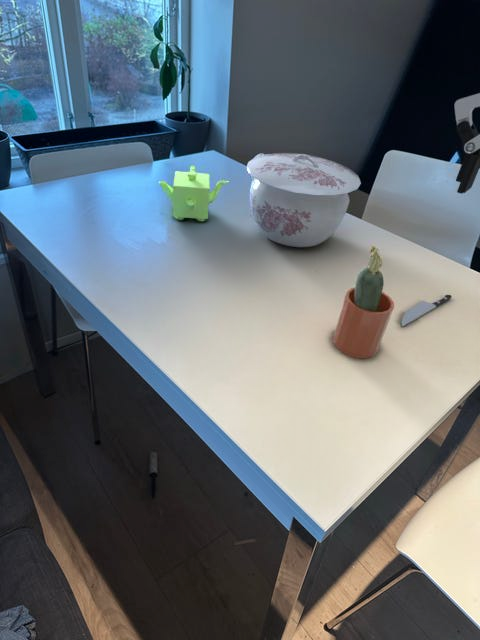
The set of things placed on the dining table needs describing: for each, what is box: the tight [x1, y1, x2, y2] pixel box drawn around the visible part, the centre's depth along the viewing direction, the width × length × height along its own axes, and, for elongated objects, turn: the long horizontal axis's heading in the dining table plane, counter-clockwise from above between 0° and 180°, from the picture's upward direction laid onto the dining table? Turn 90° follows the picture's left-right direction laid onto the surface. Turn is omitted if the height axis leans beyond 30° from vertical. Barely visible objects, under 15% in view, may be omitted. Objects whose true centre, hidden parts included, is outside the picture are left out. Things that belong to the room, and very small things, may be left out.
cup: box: [332, 286, 395, 359], centre depth 80 cm, size 8×8×10 cm
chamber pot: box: [246, 152, 362, 248], centre depth 111 cm, size 28×28×21 cm
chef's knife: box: [401, 294, 453, 327], centre depth 94 cm, size 19×1×3 cm
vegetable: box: [354, 245, 385, 312], centre depth 76 cm, size 4×4×20 cm
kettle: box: [158, 164, 230, 222], centre depth 117 cm, size 15×14×11 cm
